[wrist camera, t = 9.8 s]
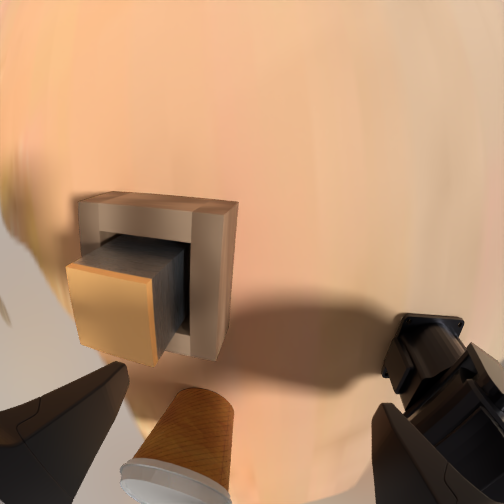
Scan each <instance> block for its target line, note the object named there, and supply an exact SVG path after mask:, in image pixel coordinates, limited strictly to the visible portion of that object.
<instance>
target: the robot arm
mask: <svg viewBox="0 0 504 504" xmlns="http://www.w3.org/2000/svg"><path fill="white" fill-rule="evenodd" d="M408 319H410V320H409V321H408V322H406V321H407V320H408ZM459 323H460V324H459ZM458 324H459V325H458ZM463 326H464V321H463V319H462V318H458V317H443V316H429V315H416V314H406V315H405V316H404V317H403V318H402V321H401V323H400V326H399V329H398V331H397V334H396V337H395V338H394V339H393V340H392V343H391V345H390V348H389V350H388V353H387V355H386V358H385V360H384V363H385V364H384V366H383V368H382V371H381V374H382V377H383V378H390V381H391V383H392V386H393V389H394V392H395V393H396V394H400V397H401V400H402V403H403V406H404V409H405V411H406V412H405V413H403V414H402V413H401V412H400V411H399V410H398V409H397V408H396V407H395V405H394V404H392V403H381V404H380V405H379V407H378V409H377V411H376V412H375V414H374V416H373V418H372V466H373V475H374V485H375V497H376V504H504V368H503V367H502V365H501V364H500V363H499V362H498V361H497V360H496V359H494V358H493V357H492V356H490V355H489V354H487V353H486V352H485V351H483V350H482V349H480V348H479V347H478V346H476V345H475V344H473V343H472V342H471V343H470V344H469V345H468V346H467V348H466V347H465V346H464V344H463V343H462V342H461V340H460V339H459V335H460V333H461V331H462V328H463ZM386 372H388V373H386ZM128 386H129V375H128V371H127V366H126V365H125V364H124V363H121V362H117V361H115V362H112V363H110V364H108V365H106V366H104V367H102V368H100V369H98V370H96V371H94V372H92V373H90V374H88V375H86V376H84V377H81V378H79V379H77V380H75V381H73V382H71V383H69V384H67V385H65V386H62V387H60V388H58V389H56V390H54V391H51V392H49V393H47V394H45V395H43V396H41V397H38V398H36V399H34V400H31V401H29V402H27V403H24V404H22V405H19V406H16V407H13V408H10V409H7V410H4V411H0V504H72V502H73V499H74V497H75V495H76V493H77V491H78V489H79V487H80V485H81V483H82V481H83V479H84V478H85V476H86V473H87V471H88V469H89V468H90V466H91V464H92V462H93V460H94V458H95V456H96V454H97V452H98V450H99V449H100V447H101V445H102V443H103V441H104V439H105V437H106V435H107V433H108V432H109V430H110V428H111V426H112V424H113V422H114V420H115V418H116V416H117V414H118V411H119V409H120V406H121V404H122V401H123V399H124V396H125V394H126V391H127V389H128Z"/></svg>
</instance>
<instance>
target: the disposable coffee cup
mask: <svg viewBox="0 0 504 504" xmlns="http://www.w3.org/2000/svg"><path fill="white" fill-rule="evenodd" d="M233 419H234V410H233V408H232V406H231V405H230V403H229V402H228V401H227V400H226V399H225V398H223V397H222V396H220V395H218V394H216V393H214V392H212V391H209V390H205V389H200V388H189V389H185V390H182V391H180V392H179V393H178V394H177V395H176V397H175V399H174V400H173V402H172V403H171V404H170V406H169V407H168V409H167V410H166V412H165V413H164V414H163V416H162V417H161V418H160V420H159V422H158V423H157V424H156V426H155V427H154V429H153V430H152V431H151V433H150V434H149V436H148V437H147V439H146V440H145V441H144V443H143V444H142V446H141V447H140V449H139V450H138V451H137V453H136V454H135V455H134V457H133V458H132V459H131V460H129V461H128V462H127V463H125V464H123V465H122V466H121V468H120V473H121V475H122V476H121V481H120V485H121V487H122V489H123V490H124V491H125V492H126V493H127V494H128V495H129V496H131V497H132V498H133V499H134V500H136V501H137V502H139V503H141V504H232V501H231V499H230V495H229V492H228V489H229V475H230V462H231V447H232V433H233Z"/></svg>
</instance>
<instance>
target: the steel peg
mask: <svg viewBox="0 0 504 504" xmlns="http://www.w3.org/2000/svg"><path fill="white" fill-rule="evenodd" d="M190 256H191V243H188V242H180V241H173V240H165V239H158V238H150V237H143V236H135V235H128V234H123V235H121V236H119V237H117V238H115V239H114V240H112V241H110V242H108V243H106V244H104V245H103V246H101V247H99V248H97V249H96V250H94V251H92V252H90V253H88V254H87V255H85V256H83V257H82V258H80V259H78V260H76V261H75V262H73V263H71V264H70V265H68V266H66V273H67V280H68V286H69V292H70V297H71V303H72V308H73V313H74V318H75V322H76V327H77V331H78V335H79V339H80V343H81V344H82V345H84V346H87V347H90V348H93V349H95V350H98V351H101V352H104V353H107V354H110V355H113V356H116V357H119V358H123V359H126V360H129V361H133V362H136V363H139V364H143V365H147V366H150V367H155V365H156V363H157V362H158V360H159V359H160V357H161V355H162V354H163V352H164V351H165V349H166V347H167V346H168V344H169V343H170V341H171V339H172V338H173V336H174V335H175V333H176V331H177V330H178V328H179V327H180V325H181V323H182V322H183V320H184V319H185V317H186V316H187V314H188V312H189V311H190Z"/></svg>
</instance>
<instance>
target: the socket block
mask: <svg viewBox="0 0 504 504" xmlns="http://www.w3.org/2000/svg"><path fill="white" fill-rule="evenodd" d="M238 203H239V202H234V201H224V200H215V199H205V198H194V197H183V196H172V195H160V194H146V193H132V192H116V191H113V192H109V193H105V194H102V195H98V196H95V197H91V198H88V199H85V200H81V201H78V215H79V232H80V245H81V255H82V257H83V256H85V255H87V254H88V253H90V252H92V251H94V250H96V249H97V248H99V247H101V246H103V245H104V244H106V243H108V242H110V241H112V240H114V239H115V238H117V237H119V236H121V235H123V234H128V235H135V236H143V237H150V238H158V239H165V240H173V241H180V242H188V243H191V256H190V311H189V312H188V314H187V316H186V317H185V319H184V320H183V322H182V323H181V325H180V327H179V328H178V330H177V331H176V333H175V335H174V336H173V338H172V339H171V341H170V343H169V344H168V346H167V347H166V349H165V351H168V352H172V353H177V354H181V355H186V356H190V357H195V358H200V359H205V360H210V361H215V362H216V360H217V357H218V354H219V352H220V349H221V346H222V343H223V341H224V338H225V335H226V333H227V330H228V327H229V314H230V301H231V287H232V275H233V262H234V250H235V237H236V226H237V214H238Z"/></svg>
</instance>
